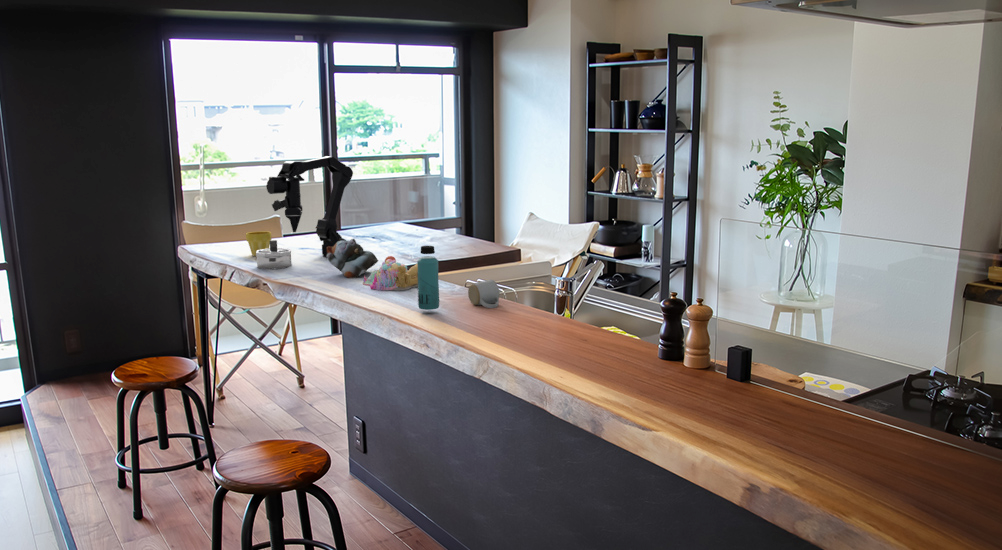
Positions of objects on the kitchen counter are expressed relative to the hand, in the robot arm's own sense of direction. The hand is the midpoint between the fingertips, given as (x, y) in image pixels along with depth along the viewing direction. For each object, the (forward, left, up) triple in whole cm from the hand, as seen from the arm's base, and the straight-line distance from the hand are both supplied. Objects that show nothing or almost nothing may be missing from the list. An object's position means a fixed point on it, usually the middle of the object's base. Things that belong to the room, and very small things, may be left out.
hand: (294, 230), depth 306 cm
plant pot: (+16, -18, -13) cm, 27 cm away
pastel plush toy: (-36, +56, -13) cm, 68 cm away
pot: (+8, +11, -12) cm, 18 cm away
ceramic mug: (-61, +94, -13) cm, 113 cm away
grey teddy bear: (-22, +35, -13) cm, 43 cm away
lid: (+8, +11, -8) cm, 15 cm away
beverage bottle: (-42, +100, -13) cm, 109 cm away
